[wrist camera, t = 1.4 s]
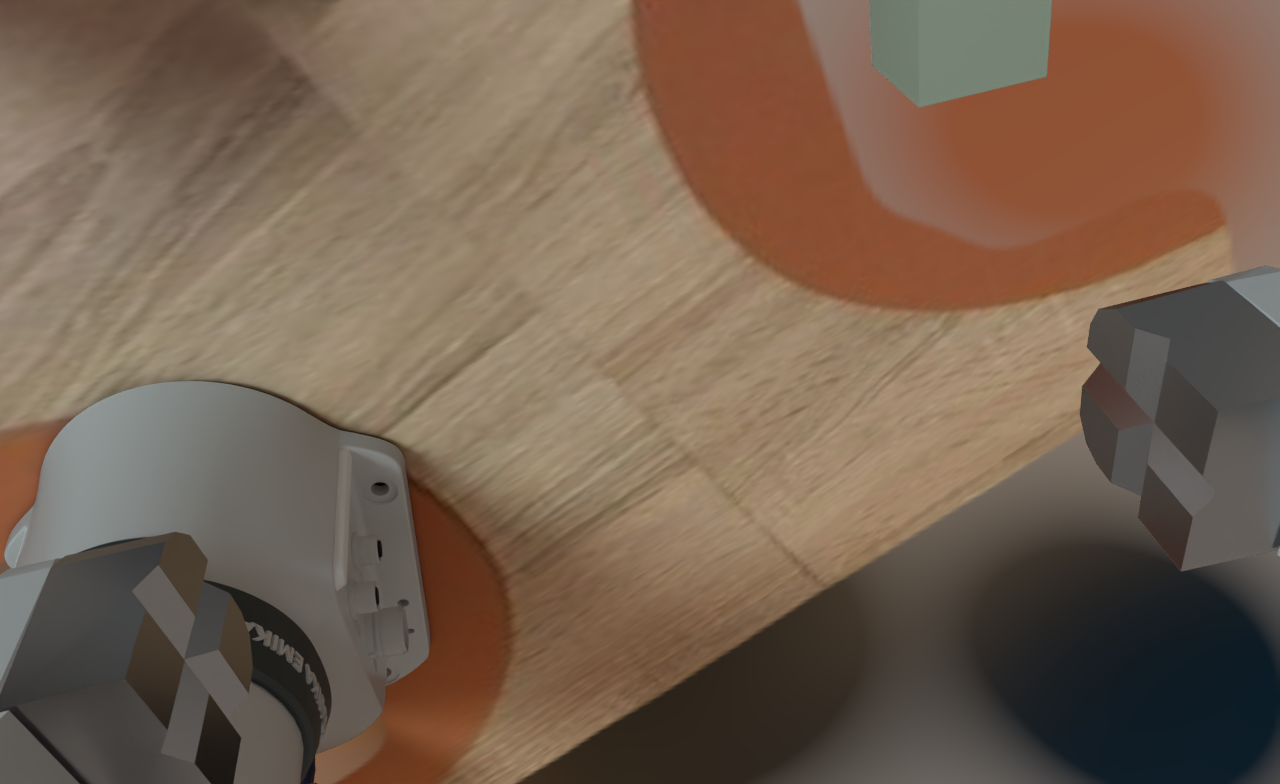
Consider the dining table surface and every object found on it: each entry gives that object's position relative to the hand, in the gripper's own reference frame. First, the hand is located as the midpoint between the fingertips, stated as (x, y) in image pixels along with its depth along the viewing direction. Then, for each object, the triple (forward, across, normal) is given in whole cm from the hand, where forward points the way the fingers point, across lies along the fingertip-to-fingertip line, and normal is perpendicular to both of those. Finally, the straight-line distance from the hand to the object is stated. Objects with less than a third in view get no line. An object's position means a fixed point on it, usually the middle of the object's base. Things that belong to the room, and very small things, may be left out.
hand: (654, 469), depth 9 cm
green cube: (+33, -16, +9) cm, 37 cm away
